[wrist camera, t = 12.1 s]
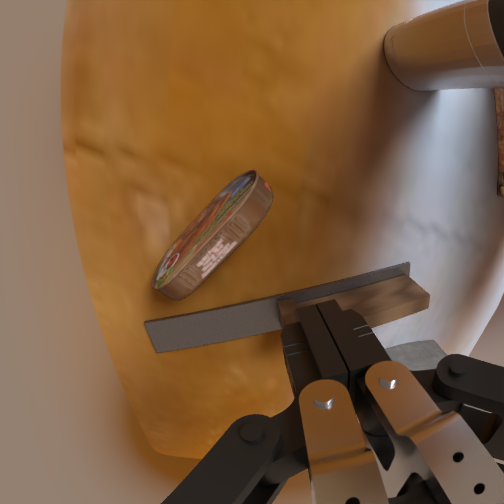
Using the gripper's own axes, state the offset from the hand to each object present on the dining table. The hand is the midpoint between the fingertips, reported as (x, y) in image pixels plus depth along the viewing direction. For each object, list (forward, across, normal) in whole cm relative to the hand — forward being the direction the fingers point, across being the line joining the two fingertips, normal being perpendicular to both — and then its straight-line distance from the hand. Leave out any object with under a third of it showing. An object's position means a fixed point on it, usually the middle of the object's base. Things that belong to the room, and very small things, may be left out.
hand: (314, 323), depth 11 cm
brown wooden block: (+24, -10, +16) cm, 30 cm away
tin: (+23, +5, +2) cm, 24 cm away
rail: (+23, -2, +16) cm, 28 cm away
